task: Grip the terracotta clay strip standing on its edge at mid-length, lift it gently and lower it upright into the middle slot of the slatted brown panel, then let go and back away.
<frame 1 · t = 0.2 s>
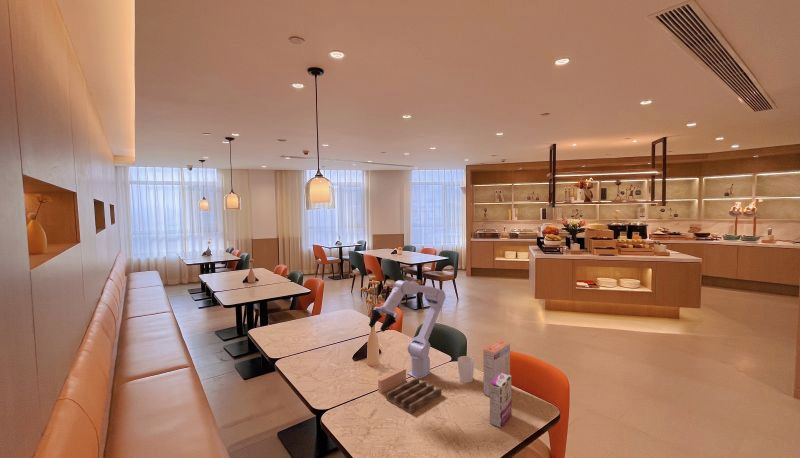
hand: (376, 328, 155), 31 cm above the table, tool tilted 45°, fingers open, 7 cm apart
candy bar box: (500, 419, 139), on the table
cracker box: (496, 391, 160), on the table
clay strip: (392, 386, 165), on the table
slatted brown panel: (414, 397, 155), on the table
white cup: (465, 380, 171), on the table
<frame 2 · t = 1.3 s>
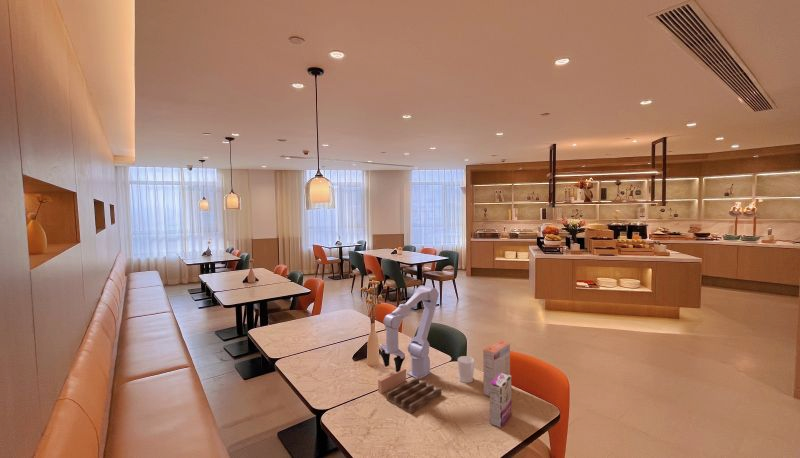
hand: (392, 368, 165), 8 cm above the table, tool pointing down, fingers open, 7 cm apart
nothing on the table moved.
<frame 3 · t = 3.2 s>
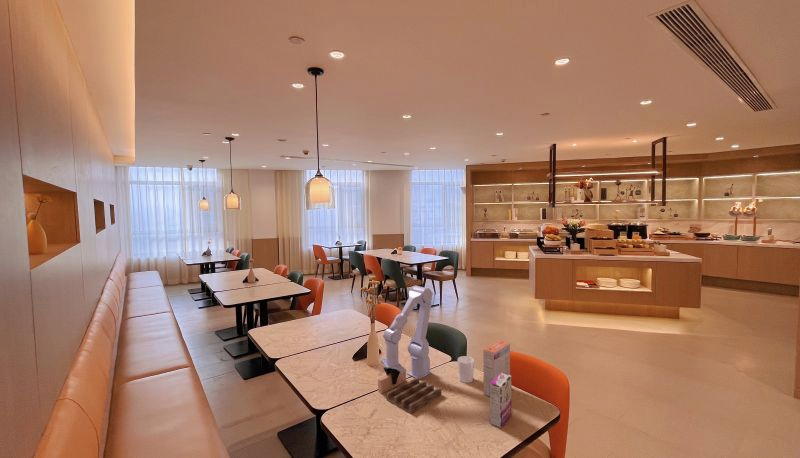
hand: (392, 382, 165), 2 cm above the table, tool pointing down, fingers closed on clay strip, 2 cm apart
clay strip: (392, 386, 165), on the table, touching gripper
everything else where it was.
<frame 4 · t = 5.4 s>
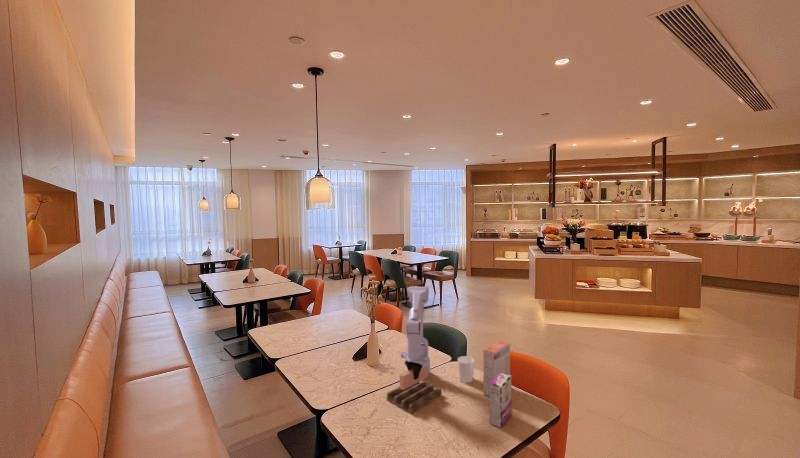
hand: (414, 377, 155), 9 cm above the table, tool pointing down, fingers closed on clay strip
clay strip: (414, 382, 155), point 7 cm above the table, touching gripper
everything else where it was.
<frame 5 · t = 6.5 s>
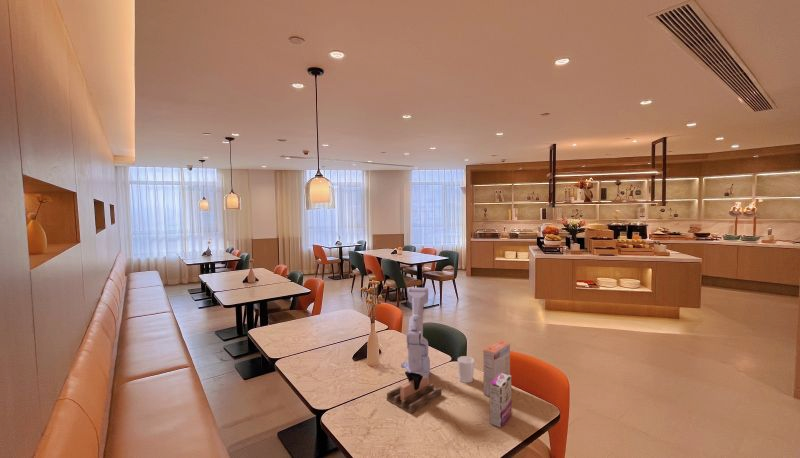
hand: (414, 388, 155), 4 cm above the table, tool pointing down, fingers closed on clay strip, 2 cm apart
clay strip: (414, 393, 155), point 2 cm above the table, touching gripper
everything else where it was.
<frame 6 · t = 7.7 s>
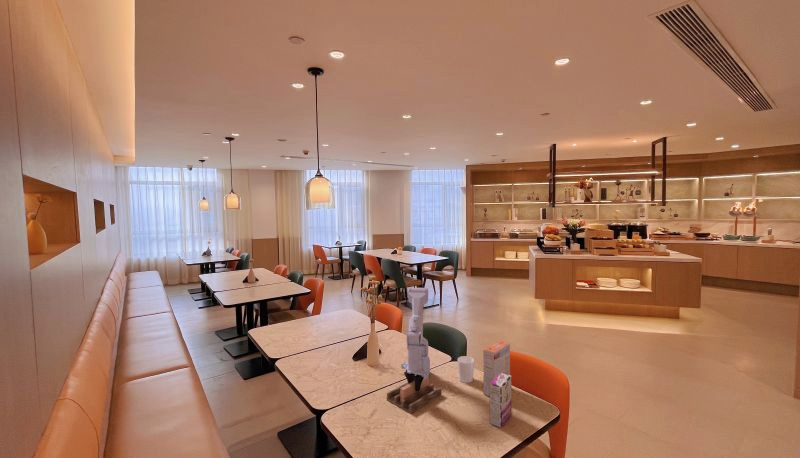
hand: (414, 388, 155), 4 cm above the table, tool pointing down, fingers open, 3 cm apart
clay strip: (414, 395, 155), point 1 cm above the table, touching slatted brown panel
everything else where it was.
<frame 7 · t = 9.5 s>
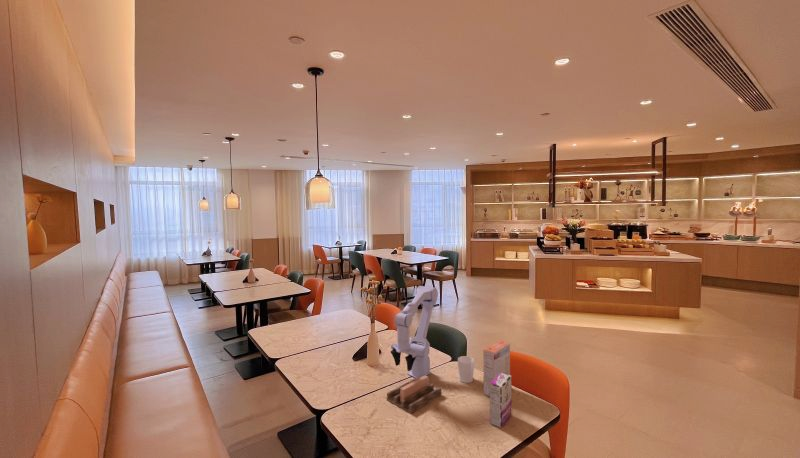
hand: (403, 367, 164), 9 cm above the table, tool pointing down, fingers open, 7 cm apart
nothing on the table moved.
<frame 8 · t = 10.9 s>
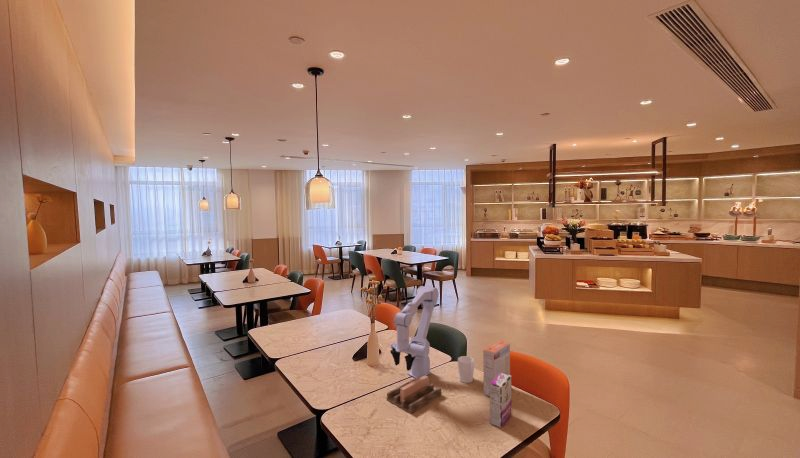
hand: (403, 367, 164), 9 cm above the table, tool pointing down, fingers open, 7 cm apart
nothing on the table moved.
at the end: clay strip 0.2 cm off-centre on the slatted brown panel, point 0.8 cm above the slatted brown panel's base; clay strip tilted 0°; the gripper is holding nothing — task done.
